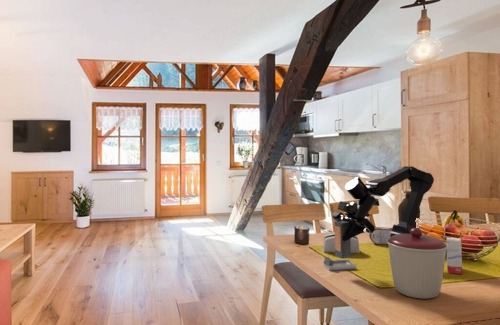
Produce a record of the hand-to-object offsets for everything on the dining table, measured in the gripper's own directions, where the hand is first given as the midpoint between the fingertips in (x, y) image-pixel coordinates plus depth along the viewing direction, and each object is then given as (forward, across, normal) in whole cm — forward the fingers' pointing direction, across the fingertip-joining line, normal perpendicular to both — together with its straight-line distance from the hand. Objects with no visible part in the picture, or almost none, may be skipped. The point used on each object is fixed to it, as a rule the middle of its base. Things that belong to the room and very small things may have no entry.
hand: (339, 239), depth 127 cm
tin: (-23, -26, +44) cm, 56 cm away
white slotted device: (-4, -25, +24) cm, 35 cm away
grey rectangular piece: (+6, -8, +14) cm, 17 cm away
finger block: (+4, 0, +6) cm, 7 cm away
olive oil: (-38, -30, +59) cm, 76 cm away
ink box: (-20, +14, +40) cm, 47 cm away
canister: (+1, +23, +19) cm, 30 cm away
